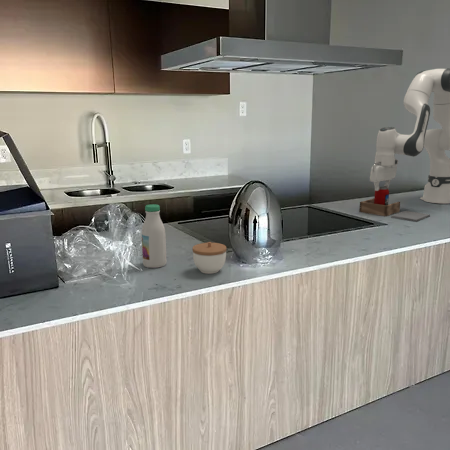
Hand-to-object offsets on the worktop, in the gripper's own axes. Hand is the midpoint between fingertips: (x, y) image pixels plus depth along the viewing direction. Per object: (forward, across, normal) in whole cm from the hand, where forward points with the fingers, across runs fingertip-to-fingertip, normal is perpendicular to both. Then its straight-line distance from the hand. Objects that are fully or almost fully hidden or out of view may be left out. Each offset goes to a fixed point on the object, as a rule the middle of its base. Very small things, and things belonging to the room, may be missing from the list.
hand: (381, 189), depth 228 cm
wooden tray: (+11, 0, 0) cm, 11 cm away
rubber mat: (+11, -1, -16) cm, 20 cm away
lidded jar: (+13, -118, -3) cm, 119 cm away
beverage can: (+11, +1, 0) cm, 11 cm away
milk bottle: (+14, -127, +14) cm, 129 cm away
